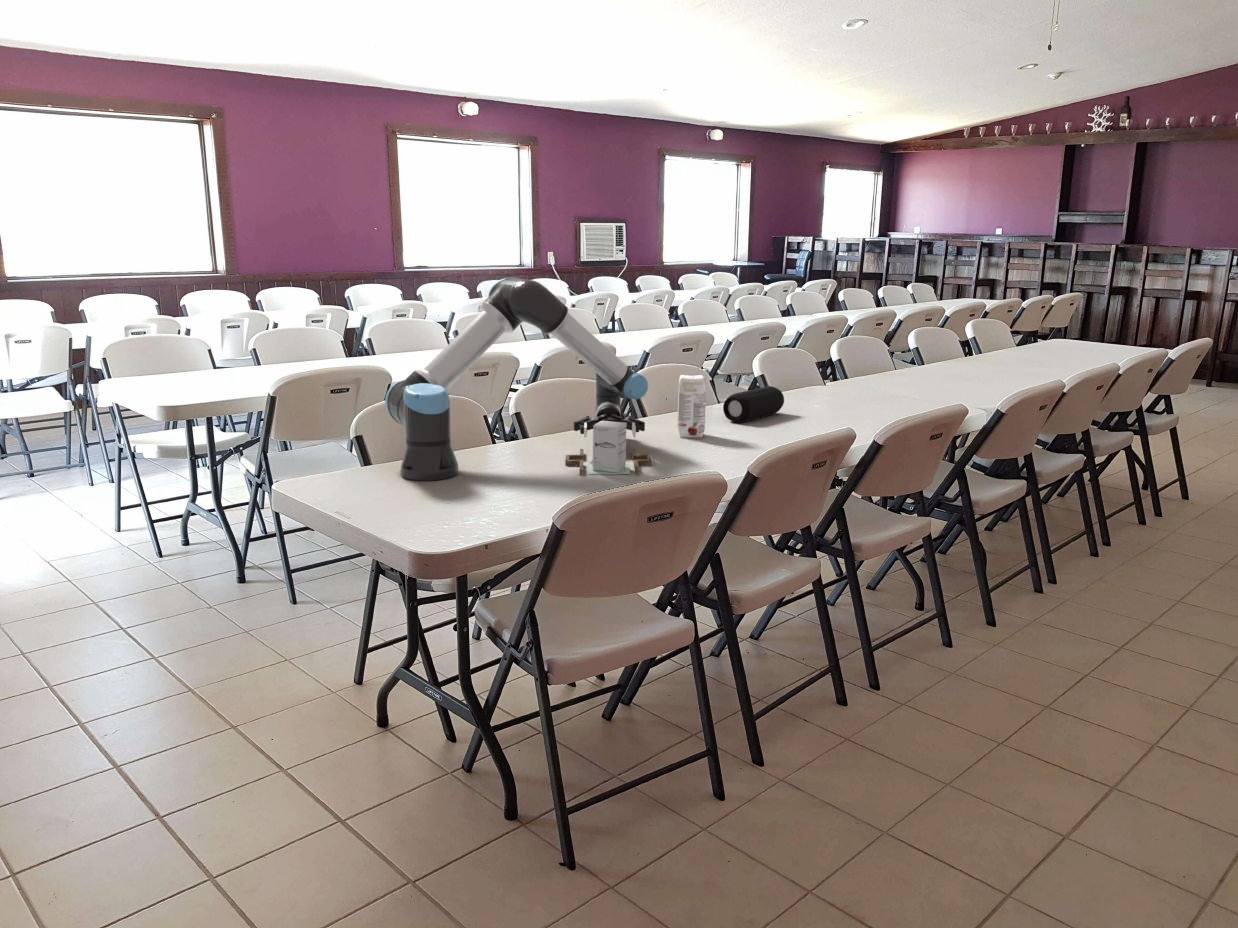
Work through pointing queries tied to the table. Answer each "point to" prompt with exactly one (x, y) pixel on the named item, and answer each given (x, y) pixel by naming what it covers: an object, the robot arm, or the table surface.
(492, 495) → the table surface
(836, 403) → the table surface
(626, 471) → the pad
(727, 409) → the portable speaker
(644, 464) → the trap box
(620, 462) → the supplement box
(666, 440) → the table surface
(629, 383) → the robot arm
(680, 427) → the juice carton
